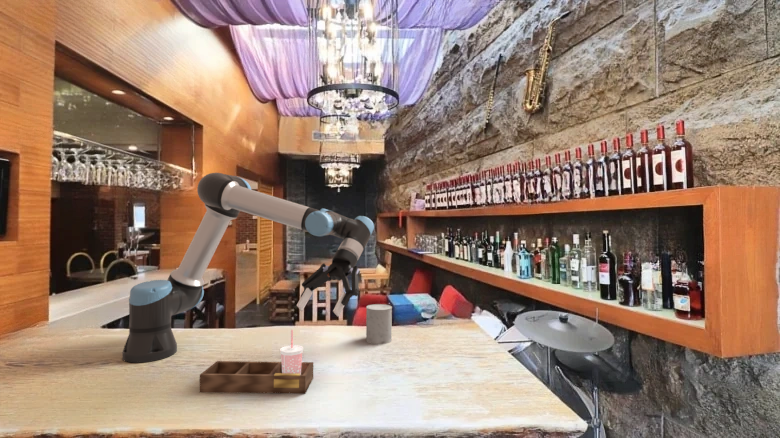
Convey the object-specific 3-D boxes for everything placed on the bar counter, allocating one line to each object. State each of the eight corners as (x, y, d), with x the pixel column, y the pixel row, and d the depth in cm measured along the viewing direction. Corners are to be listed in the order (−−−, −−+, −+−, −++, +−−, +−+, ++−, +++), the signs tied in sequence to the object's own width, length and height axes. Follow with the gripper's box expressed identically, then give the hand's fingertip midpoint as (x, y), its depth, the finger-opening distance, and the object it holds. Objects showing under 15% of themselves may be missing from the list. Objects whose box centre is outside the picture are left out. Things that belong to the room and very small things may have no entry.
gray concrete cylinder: (388, 345, 137) (389, 310, 137) (363, 343, 139) (363, 309, 139) (394, 337, 146) (394, 304, 146) (369, 335, 148) (369, 303, 148)
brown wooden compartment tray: (198, 392, 98) (199, 374, 98) (216, 377, 108) (217, 360, 108) (305, 394, 98) (305, 375, 98) (313, 378, 108) (313, 361, 108)
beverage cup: (308, 380, 104) (308, 329, 104) (290, 389, 99) (291, 334, 99) (291, 375, 107) (292, 325, 107) (274, 383, 102) (275, 330, 102)
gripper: (384, 265, 122) (357, 323, 108) (322, 260, 134) (291, 312, 120) (376, 249, 117) (346, 308, 104) (312, 246, 129) (279, 298, 116)
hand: (317, 311), depth 112 cm, fingers open, 13 cm apart
